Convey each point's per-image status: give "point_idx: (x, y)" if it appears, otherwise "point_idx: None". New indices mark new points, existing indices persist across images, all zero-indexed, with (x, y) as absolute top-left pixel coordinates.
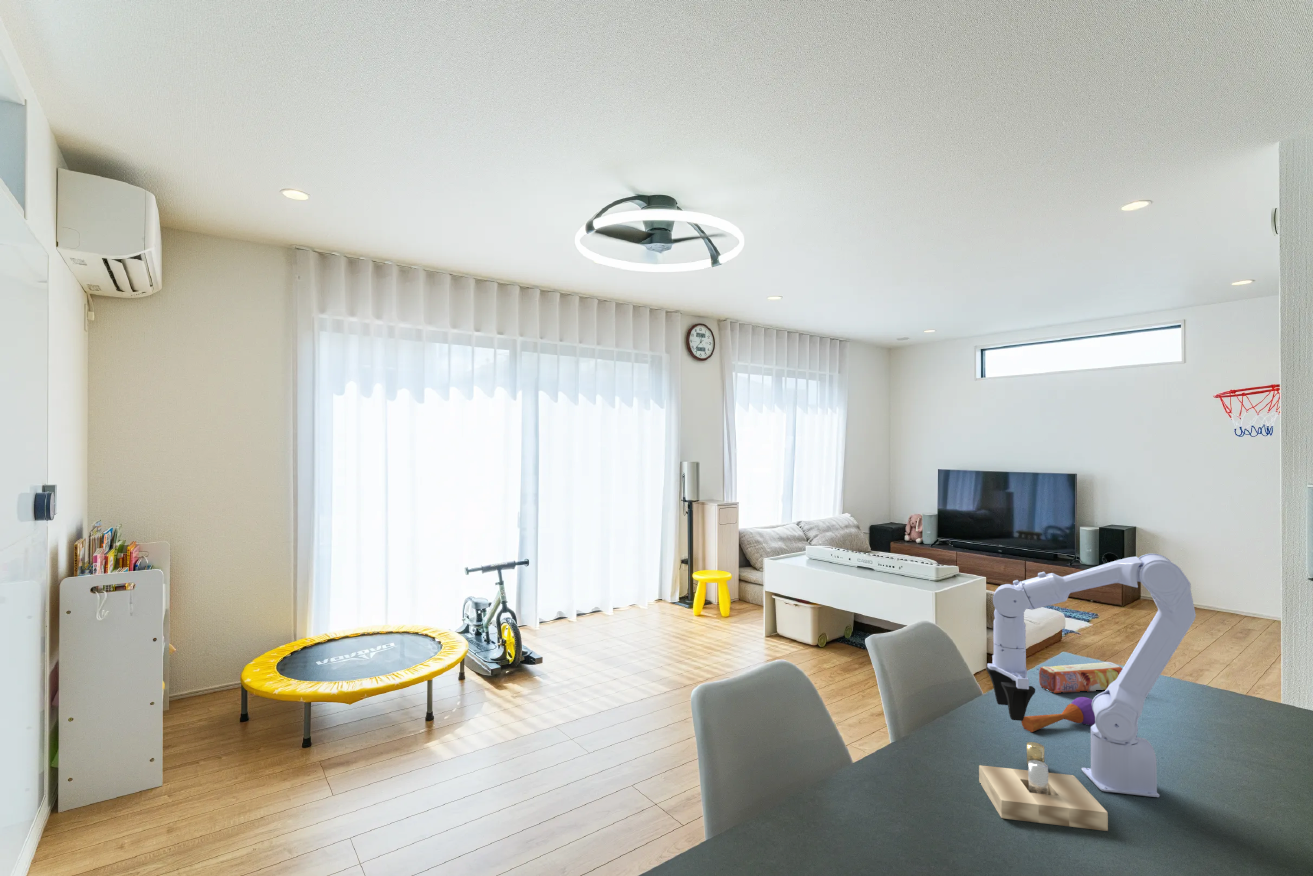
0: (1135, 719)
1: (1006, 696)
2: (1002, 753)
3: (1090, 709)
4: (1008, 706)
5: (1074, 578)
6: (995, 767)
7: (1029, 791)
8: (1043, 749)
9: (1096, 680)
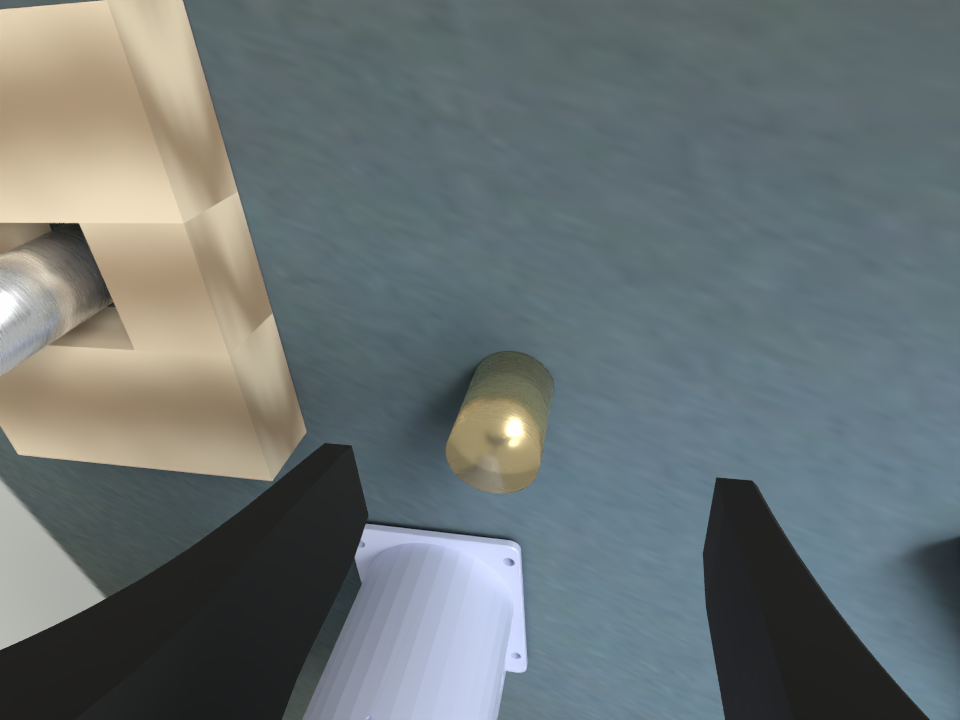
0: None
1: (200, 601)
2: (636, 270)
3: None
4: (276, 516)
5: None
6: (139, 119)
7: (43, 234)
8: (461, 476)
9: None
